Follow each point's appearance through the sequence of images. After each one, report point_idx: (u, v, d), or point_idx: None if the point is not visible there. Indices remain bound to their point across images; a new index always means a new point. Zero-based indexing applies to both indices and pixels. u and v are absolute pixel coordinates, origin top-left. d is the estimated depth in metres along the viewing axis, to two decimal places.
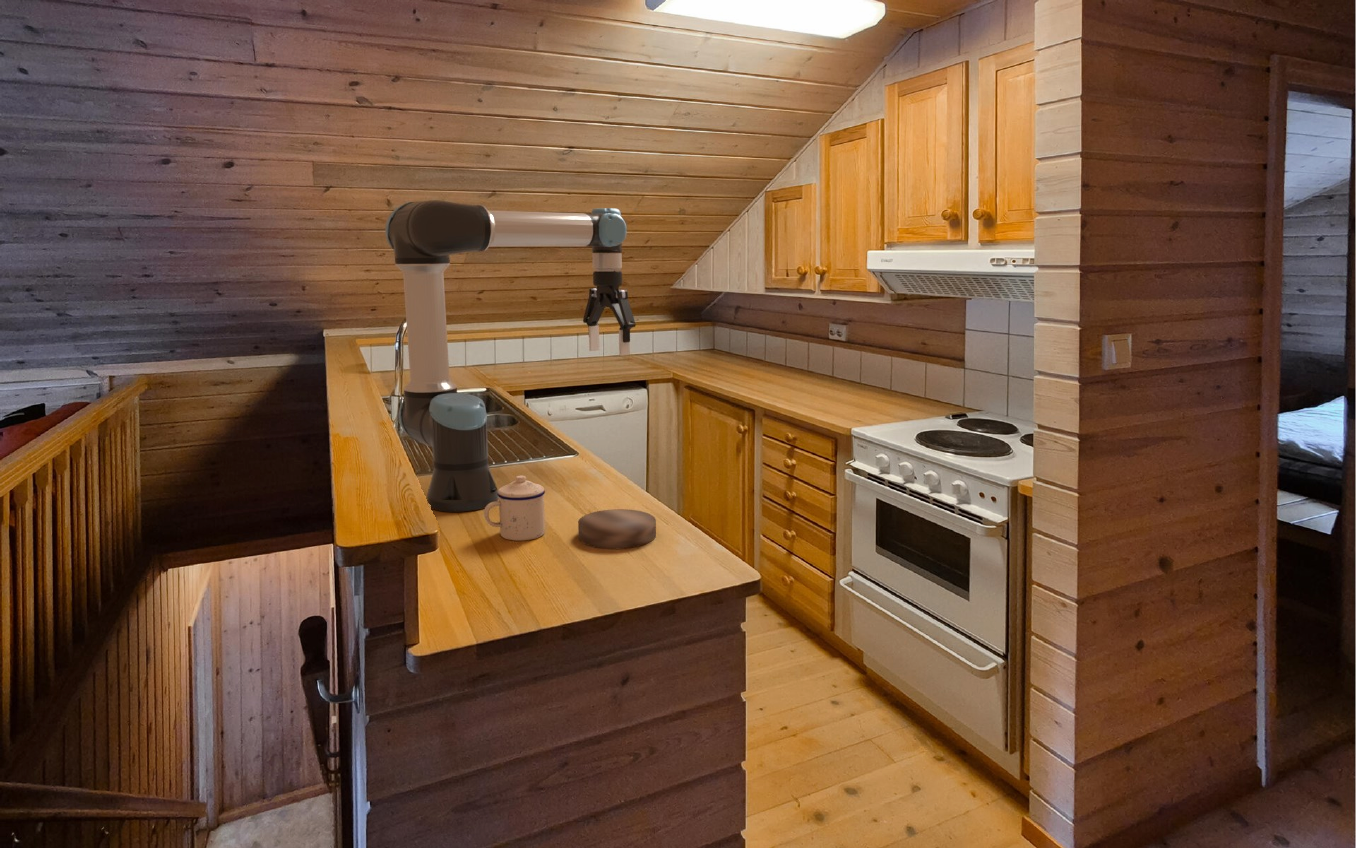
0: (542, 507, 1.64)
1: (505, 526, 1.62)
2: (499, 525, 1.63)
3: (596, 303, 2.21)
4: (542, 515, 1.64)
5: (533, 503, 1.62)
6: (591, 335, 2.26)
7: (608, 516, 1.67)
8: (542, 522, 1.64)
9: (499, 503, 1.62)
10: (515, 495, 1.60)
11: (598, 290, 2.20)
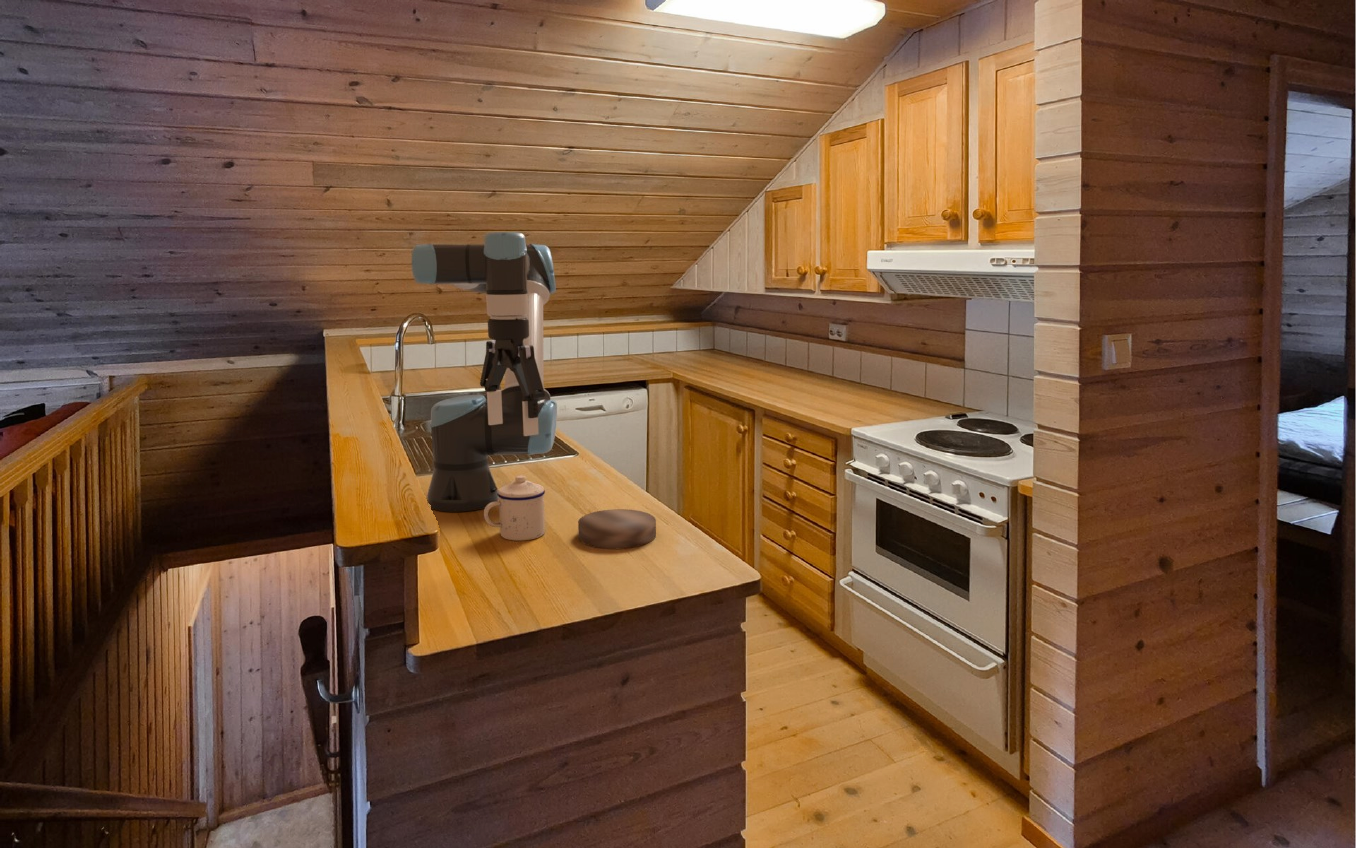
0: (542, 507, 1.64)
1: (505, 526, 1.62)
2: (499, 525, 1.63)
3: (494, 362, 1.60)
4: (542, 515, 1.64)
5: (533, 503, 1.62)
6: (490, 404, 1.65)
7: (608, 516, 1.67)
8: (542, 522, 1.64)
9: (499, 503, 1.62)
10: (515, 495, 1.60)
11: (497, 344, 1.60)
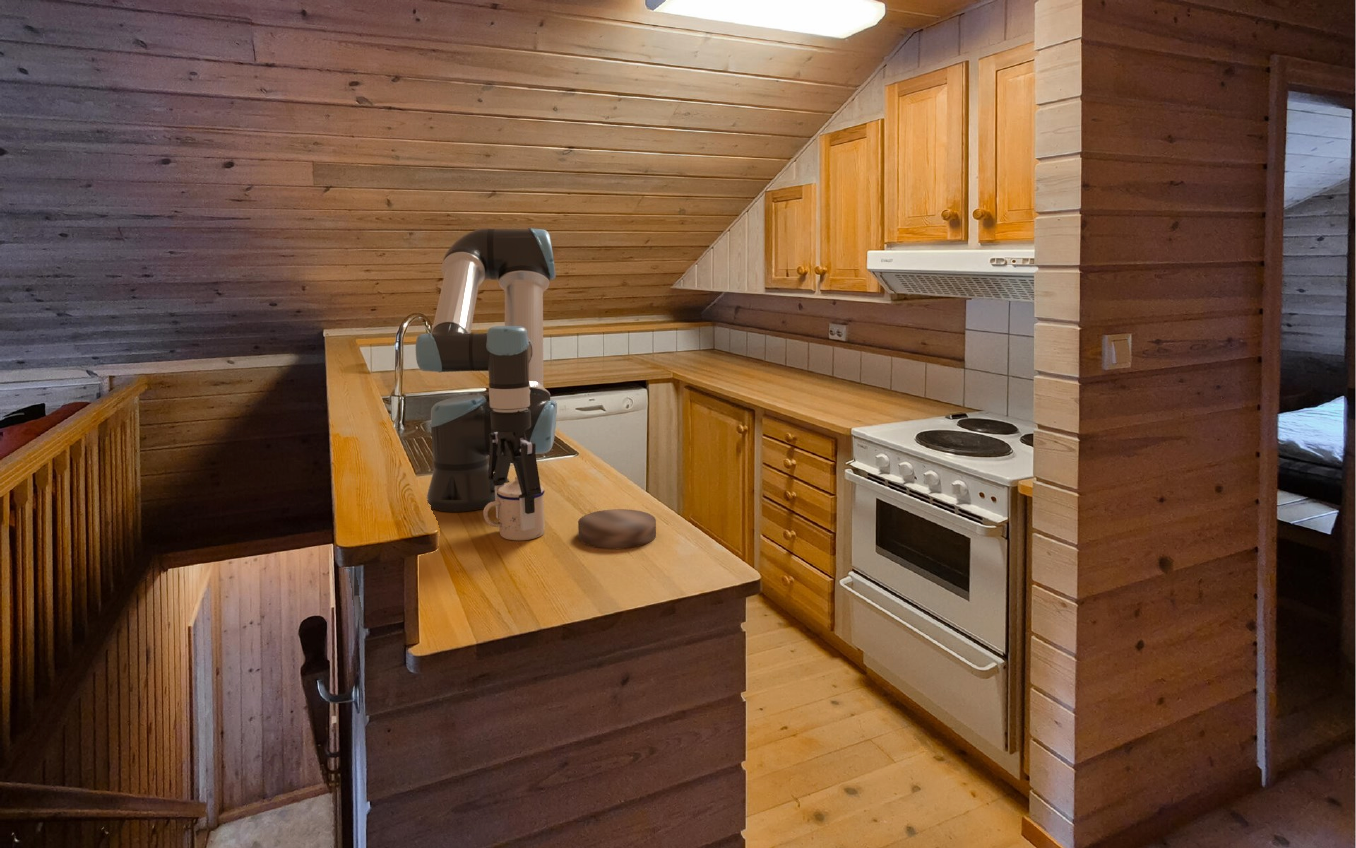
0: (542, 507, 1.64)
1: (504, 526, 1.62)
2: (499, 525, 1.63)
3: (498, 453, 1.63)
4: (542, 515, 1.64)
5: None
6: None
7: (608, 516, 1.67)
8: (542, 522, 1.64)
9: (499, 503, 1.62)
10: (514, 495, 1.60)
11: (499, 433, 1.63)
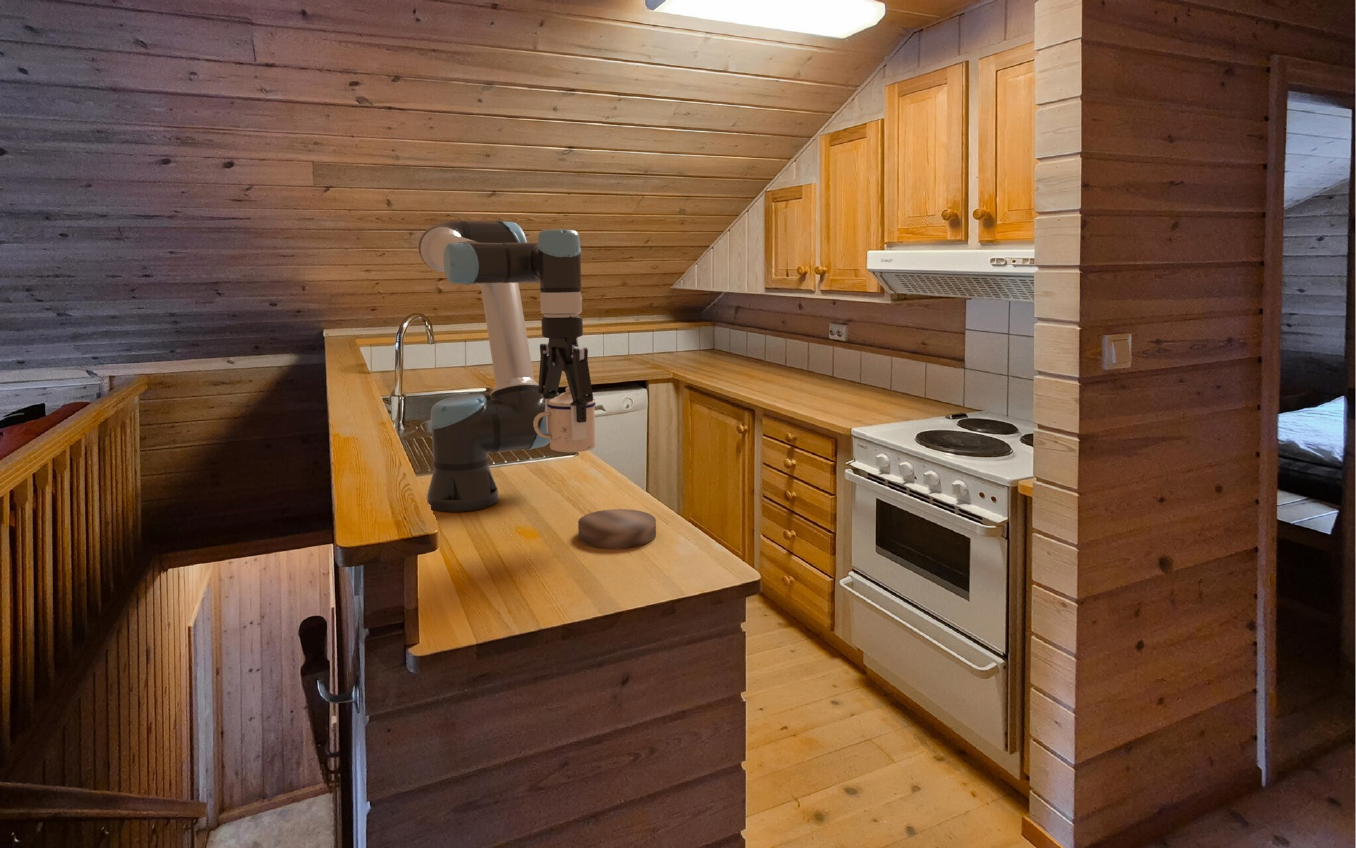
0: (593, 419, 1.60)
1: (555, 437, 1.58)
2: (549, 436, 1.59)
3: (549, 362, 1.59)
4: (592, 427, 1.60)
5: None
6: (548, 411, 1.63)
7: (608, 516, 1.67)
8: (592, 434, 1.60)
9: (549, 413, 1.58)
10: (565, 404, 1.56)
11: (550, 342, 1.59)
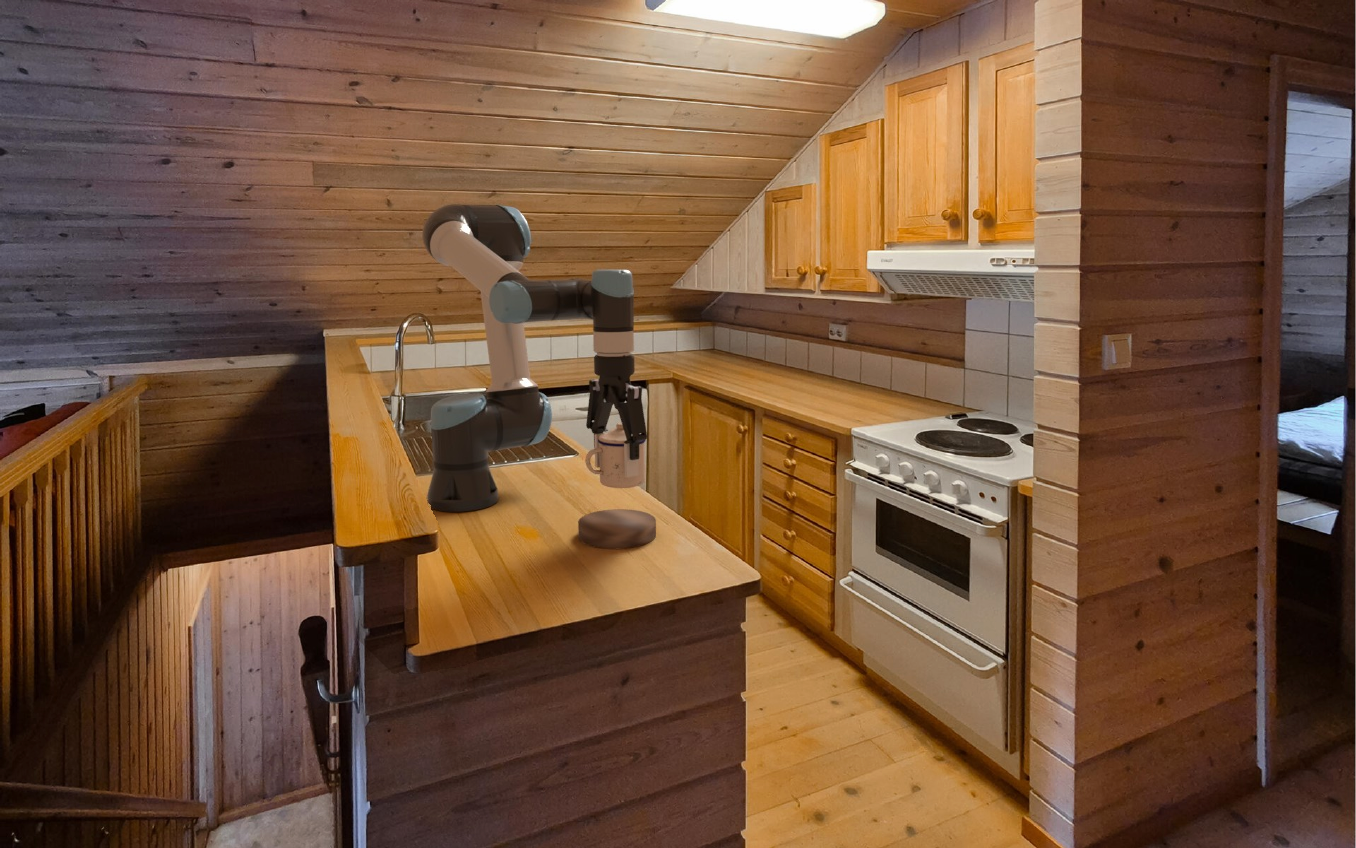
0: (643, 455, 1.62)
1: (607, 473, 1.60)
2: (600, 472, 1.60)
3: (600, 399, 1.60)
4: (643, 463, 1.62)
5: None
6: (597, 446, 1.64)
7: (608, 516, 1.67)
8: (643, 470, 1.62)
9: (601, 450, 1.60)
10: (618, 441, 1.58)
11: (601, 379, 1.60)
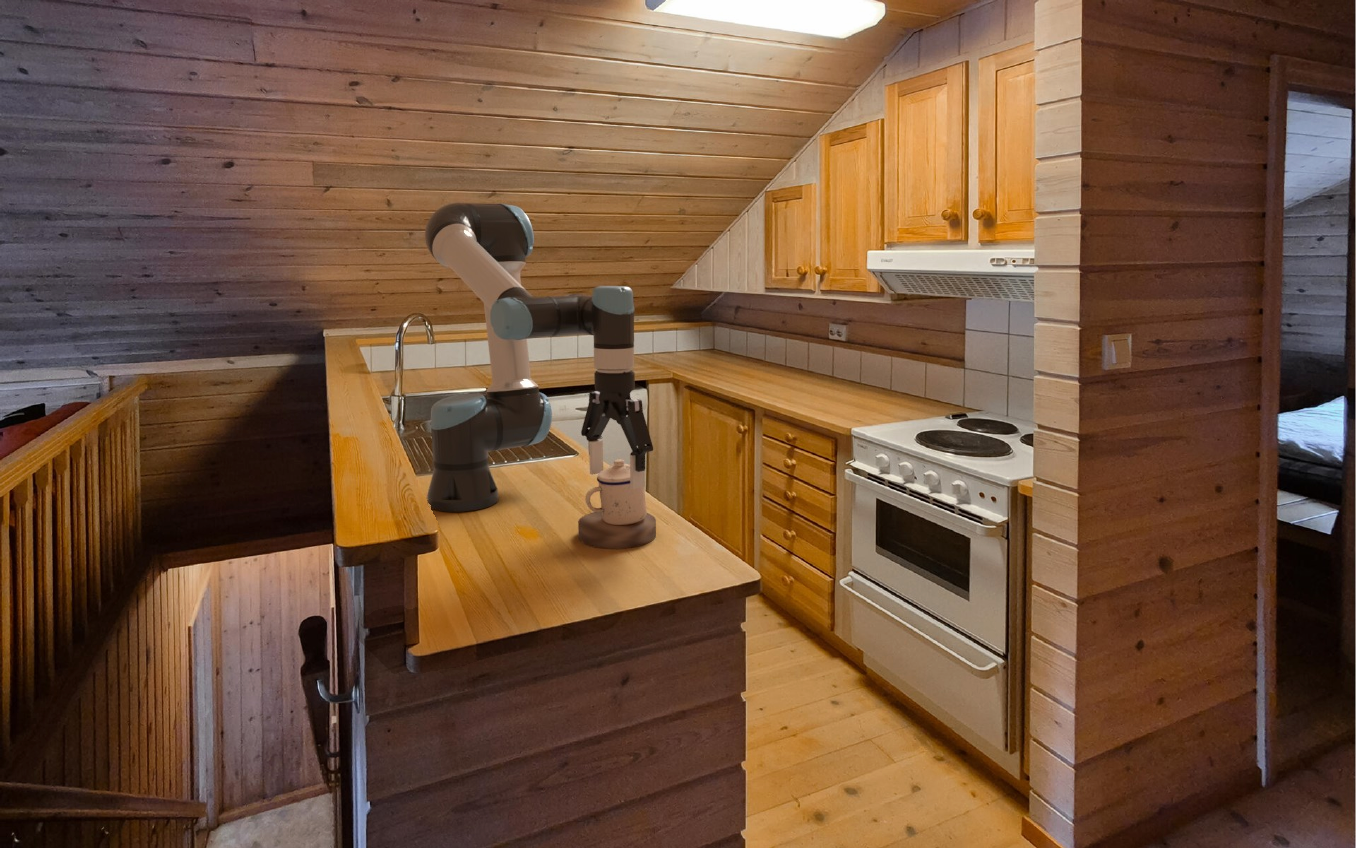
0: (643, 490, 1.62)
1: (607, 511, 1.61)
2: (601, 510, 1.62)
3: (599, 413, 1.61)
4: (643, 498, 1.63)
5: None
6: (592, 454, 1.66)
7: None
8: (644, 505, 1.63)
9: (600, 489, 1.61)
10: (616, 480, 1.59)
11: (601, 396, 1.61)
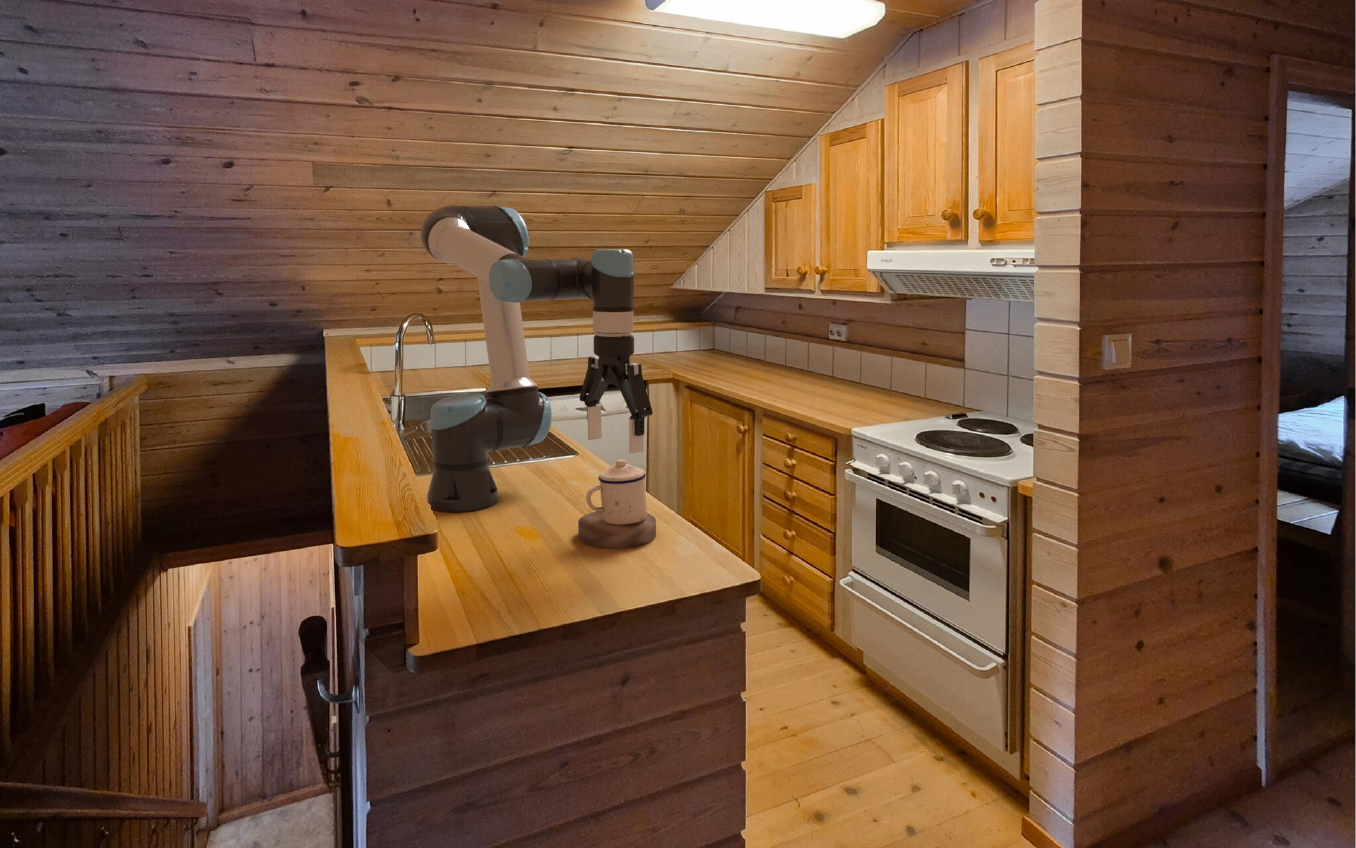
0: (643, 490, 1.63)
1: (607, 510, 1.62)
2: (601, 510, 1.62)
3: (598, 378, 1.60)
4: (644, 498, 1.63)
5: (635, 486, 1.60)
6: (590, 419, 1.65)
7: None
8: (644, 506, 1.63)
9: (601, 487, 1.61)
10: (617, 479, 1.59)
11: (601, 360, 1.60)
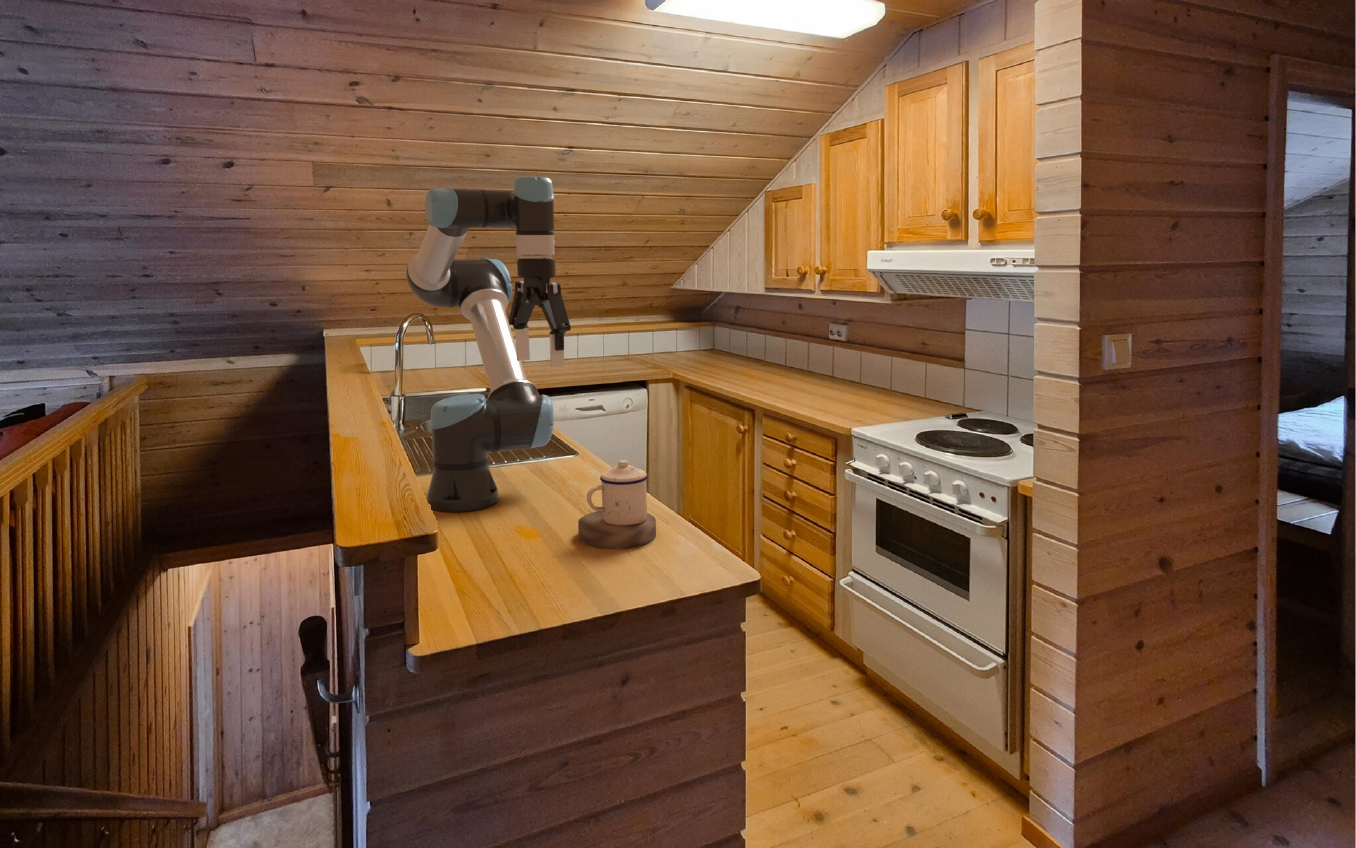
0: (644, 492, 1.63)
1: (607, 511, 1.62)
2: (602, 509, 1.62)
3: (523, 300, 1.72)
4: (644, 500, 1.63)
5: (636, 488, 1.60)
6: (518, 341, 1.77)
7: None
8: (644, 507, 1.63)
9: (602, 487, 1.62)
10: (618, 479, 1.59)
11: (525, 283, 1.72)
